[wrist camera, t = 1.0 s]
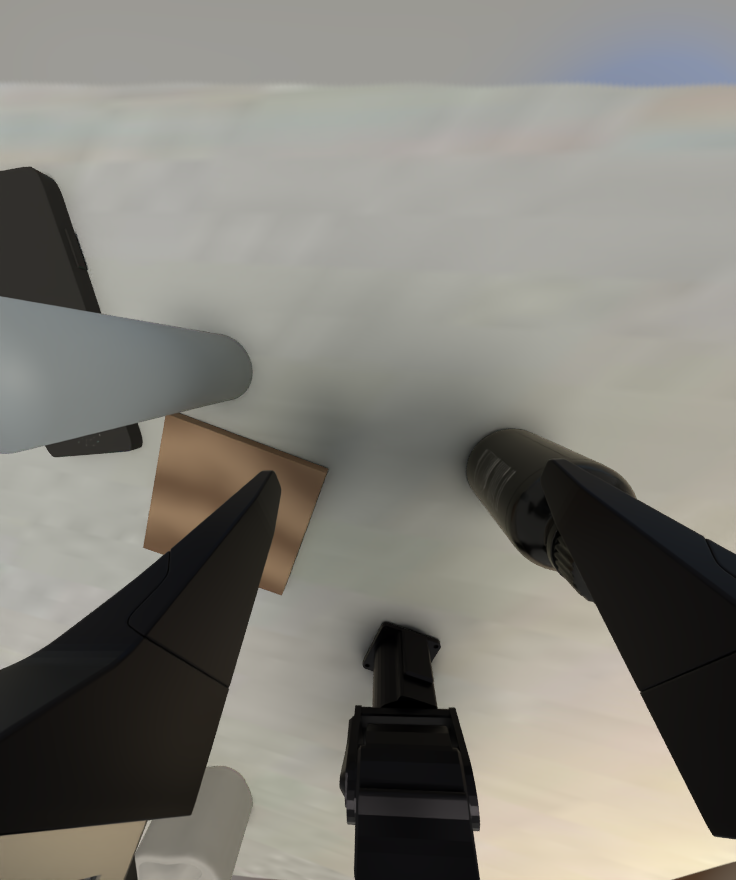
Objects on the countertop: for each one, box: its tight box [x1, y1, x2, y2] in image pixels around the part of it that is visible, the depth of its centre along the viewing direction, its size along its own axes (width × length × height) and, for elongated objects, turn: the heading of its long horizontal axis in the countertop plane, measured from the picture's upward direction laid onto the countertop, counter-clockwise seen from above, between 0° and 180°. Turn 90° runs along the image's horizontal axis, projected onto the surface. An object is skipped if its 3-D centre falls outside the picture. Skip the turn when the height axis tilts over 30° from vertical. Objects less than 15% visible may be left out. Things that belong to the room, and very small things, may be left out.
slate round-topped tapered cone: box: [0, 296, 252, 454], centre depth 16 cm, size 5×5×14 cm
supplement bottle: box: [467, 429, 637, 603], centre depth 18 cm, size 7×7×12 cm
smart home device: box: [0, 167, 143, 457], centre depth 22 cm, size 8×2×20 cm
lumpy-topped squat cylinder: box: [135, 766, 253, 880], centre depth 35 cm, size 10×13×9 cm
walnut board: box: [143, 413, 328, 595], centre depth 25 cm, size 14×14×1 cm
